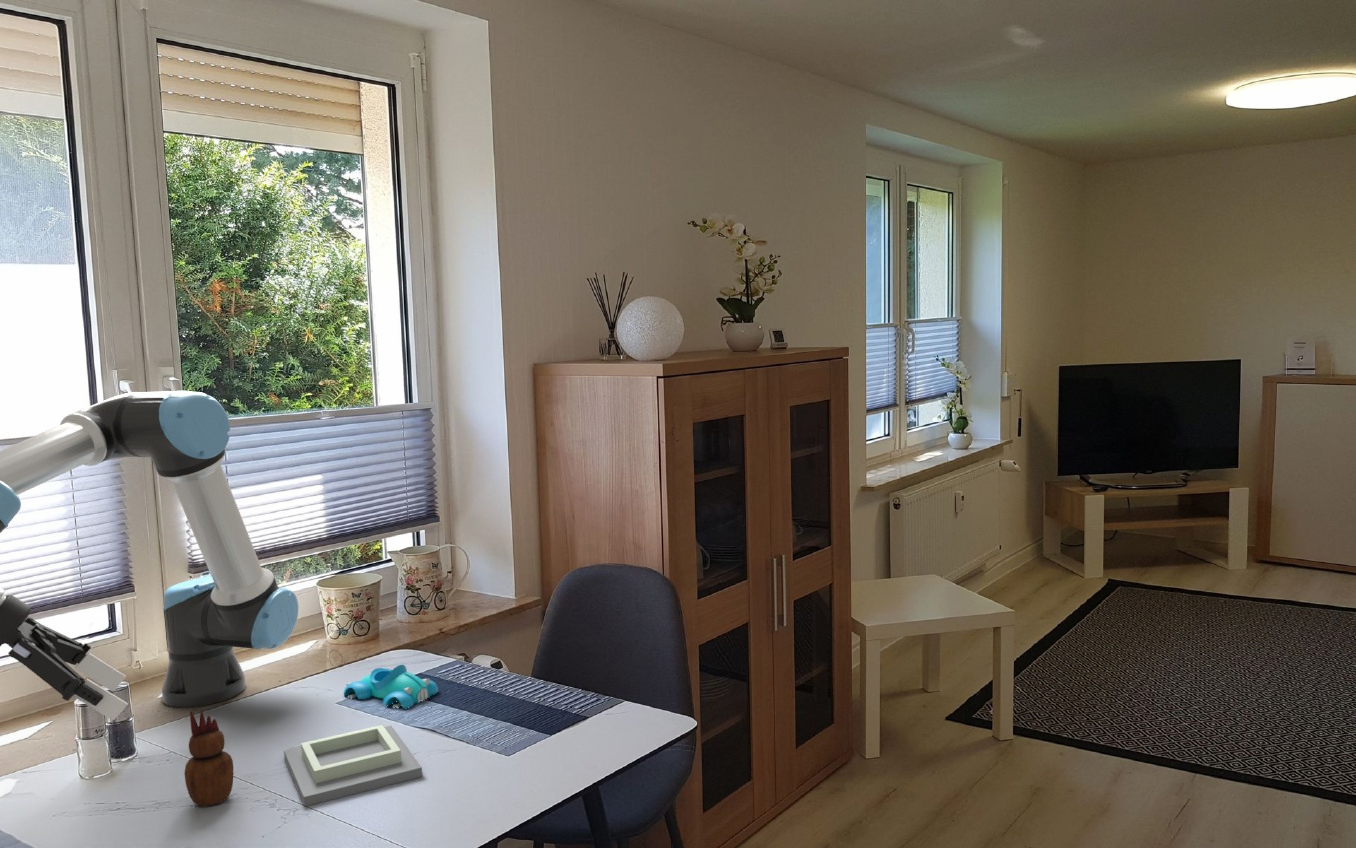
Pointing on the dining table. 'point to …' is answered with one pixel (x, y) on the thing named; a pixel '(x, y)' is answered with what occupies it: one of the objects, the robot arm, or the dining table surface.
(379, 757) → the jig plate
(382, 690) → the toy car
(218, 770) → the wooden figurine
